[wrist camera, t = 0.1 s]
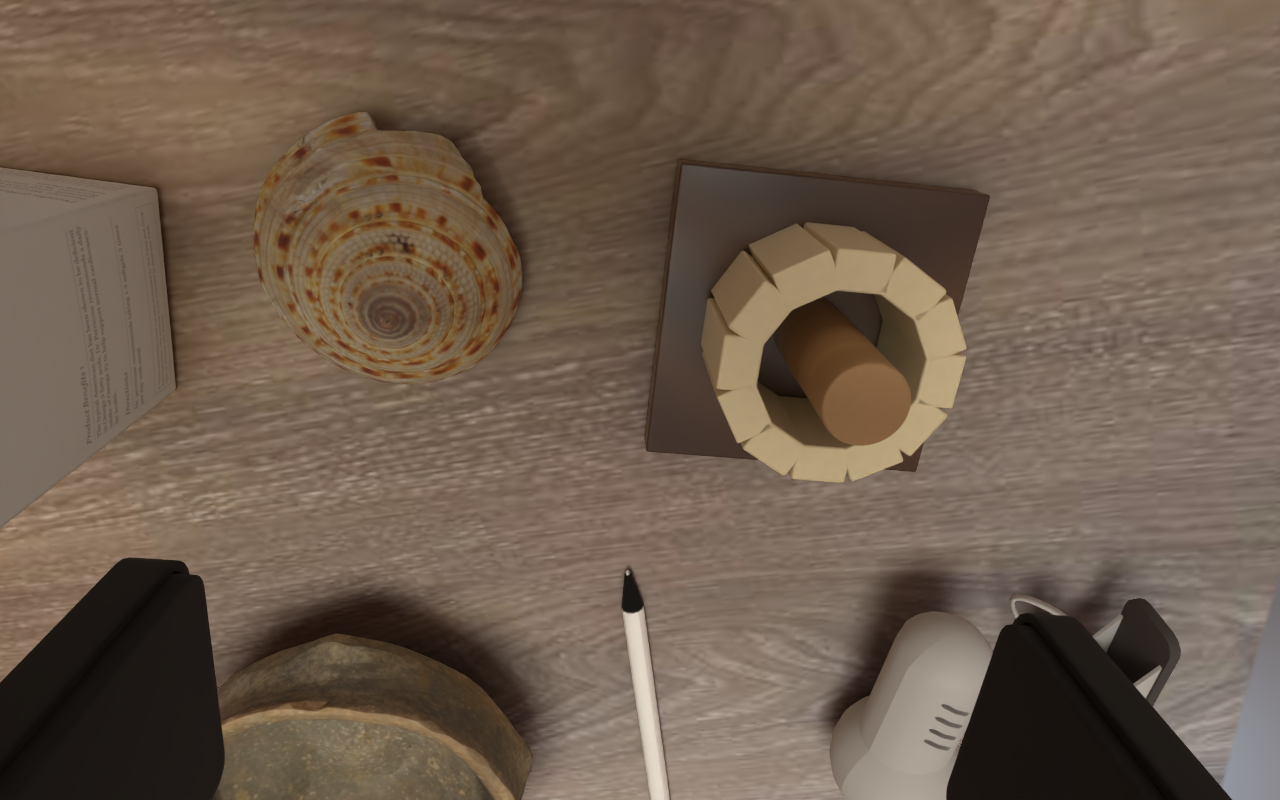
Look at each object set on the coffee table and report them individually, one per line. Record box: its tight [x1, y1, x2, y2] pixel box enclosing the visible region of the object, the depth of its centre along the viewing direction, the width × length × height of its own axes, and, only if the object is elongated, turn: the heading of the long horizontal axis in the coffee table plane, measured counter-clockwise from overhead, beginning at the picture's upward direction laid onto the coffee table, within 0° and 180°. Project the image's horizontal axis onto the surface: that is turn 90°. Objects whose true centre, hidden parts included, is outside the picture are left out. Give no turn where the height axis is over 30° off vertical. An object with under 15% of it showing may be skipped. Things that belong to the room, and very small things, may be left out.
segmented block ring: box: [701, 222, 966, 483], centre depth 25 cm, size 7×7×4 cm
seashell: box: [253, 112, 522, 384], centre depth 25 cm, size 8×6×8 cm
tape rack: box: [644, 159, 990, 472], centre depth 24 cm, size 10×10×8 cm
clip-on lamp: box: [830, 594, 1181, 800], centre depth 33 cm, size 12×6×18 cm
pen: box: [622, 570, 670, 800], centre depth 35 cm, size 1×19×1 cm, turn 6°
